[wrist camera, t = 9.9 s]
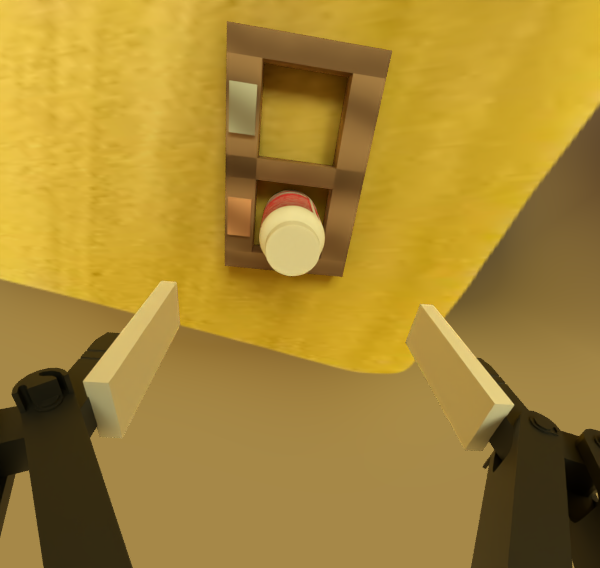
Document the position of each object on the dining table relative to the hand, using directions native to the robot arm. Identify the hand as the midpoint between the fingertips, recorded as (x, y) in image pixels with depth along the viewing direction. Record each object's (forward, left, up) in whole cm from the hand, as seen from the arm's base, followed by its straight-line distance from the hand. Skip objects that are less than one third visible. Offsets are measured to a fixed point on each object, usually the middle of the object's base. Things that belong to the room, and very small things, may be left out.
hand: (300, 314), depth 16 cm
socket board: (-5, 0, -21) cm, 21 cm away
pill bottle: (0, 0, -21) cm, 21 cm away
